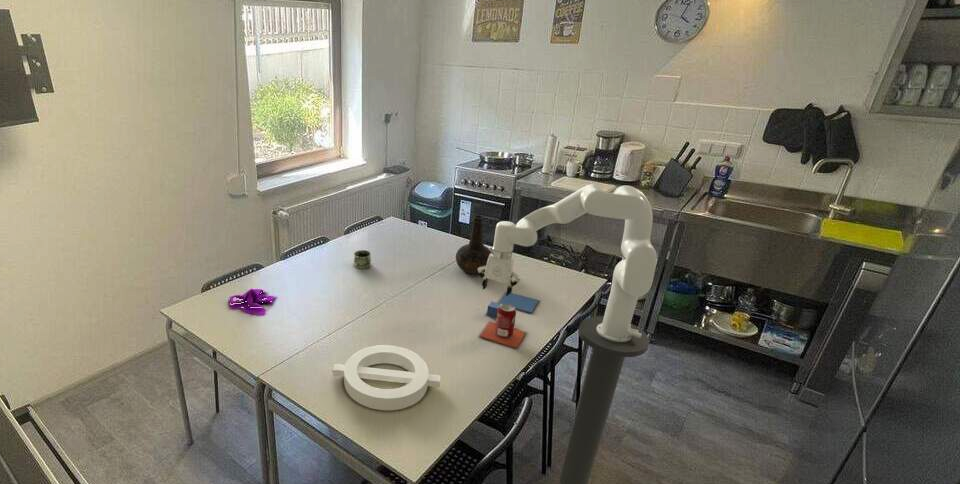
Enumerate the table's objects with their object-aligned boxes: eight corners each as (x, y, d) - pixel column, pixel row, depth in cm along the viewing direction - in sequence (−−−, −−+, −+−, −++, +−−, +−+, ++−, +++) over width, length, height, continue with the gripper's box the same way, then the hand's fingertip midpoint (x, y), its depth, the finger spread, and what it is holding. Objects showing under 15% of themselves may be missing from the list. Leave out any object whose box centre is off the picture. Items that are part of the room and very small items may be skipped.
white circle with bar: (328, 374, 168) (328, 363, 166) (392, 346, 182) (392, 336, 180) (377, 423, 147) (377, 411, 145) (445, 387, 162) (446, 376, 160)
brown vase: (491, 264, 246) (498, 211, 234) (491, 280, 230) (499, 224, 218) (455, 260, 250) (460, 208, 237) (453, 276, 234) (458, 221, 222)
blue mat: (538, 301, 213) (538, 300, 212) (531, 313, 204) (531, 312, 203) (506, 292, 219) (506, 291, 219) (498, 304, 210) (498, 303, 210)
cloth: (220, 302, 212) (218, 290, 209) (254, 287, 224) (253, 275, 222) (252, 320, 199) (250, 307, 196) (287, 303, 211) (286, 290, 208)
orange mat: (525, 333, 190) (525, 331, 190) (516, 348, 181) (516, 347, 181) (490, 322, 197) (490, 321, 197) (480, 337, 188) (480, 335, 188)
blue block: (500, 313, 204) (502, 304, 202) (497, 318, 200) (498, 308, 198) (490, 310, 206) (491, 301, 204) (486, 315, 202) (487, 305, 200)
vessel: (376, 266, 243) (377, 255, 241) (363, 271, 238) (363, 259, 236) (361, 258, 252) (361, 247, 249) (348, 263, 247) (348, 251, 244)
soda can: (507, 340, 185) (511, 313, 179) (491, 334, 189) (495, 307, 184) (515, 333, 189) (520, 306, 184) (499, 327, 193) (503, 300, 188)
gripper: (477, 251, 192) (472, 289, 199) (521, 261, 184) (514, 301, 191) (483, 244, 197) (478, 282, 205) (527, 254, 189) (520, 293, 197)
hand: (496, 291), depth 198 cm, fingers open, 9 cm apart
